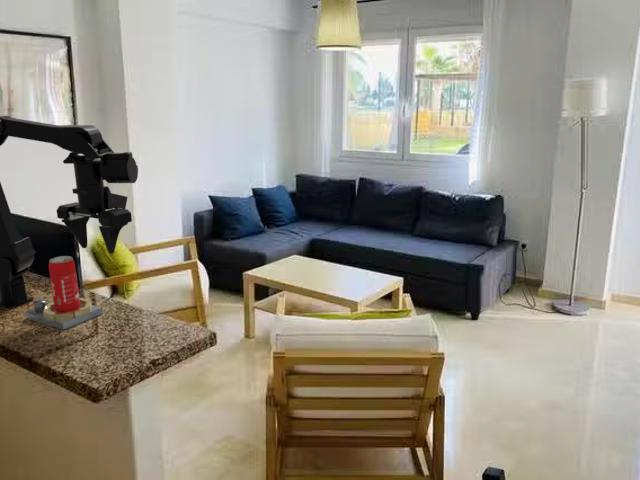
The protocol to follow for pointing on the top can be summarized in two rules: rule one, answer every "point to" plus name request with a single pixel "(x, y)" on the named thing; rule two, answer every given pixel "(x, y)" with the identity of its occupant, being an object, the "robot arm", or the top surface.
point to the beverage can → (64, 284)
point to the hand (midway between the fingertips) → (97, 250)
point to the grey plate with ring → (62, 314)
